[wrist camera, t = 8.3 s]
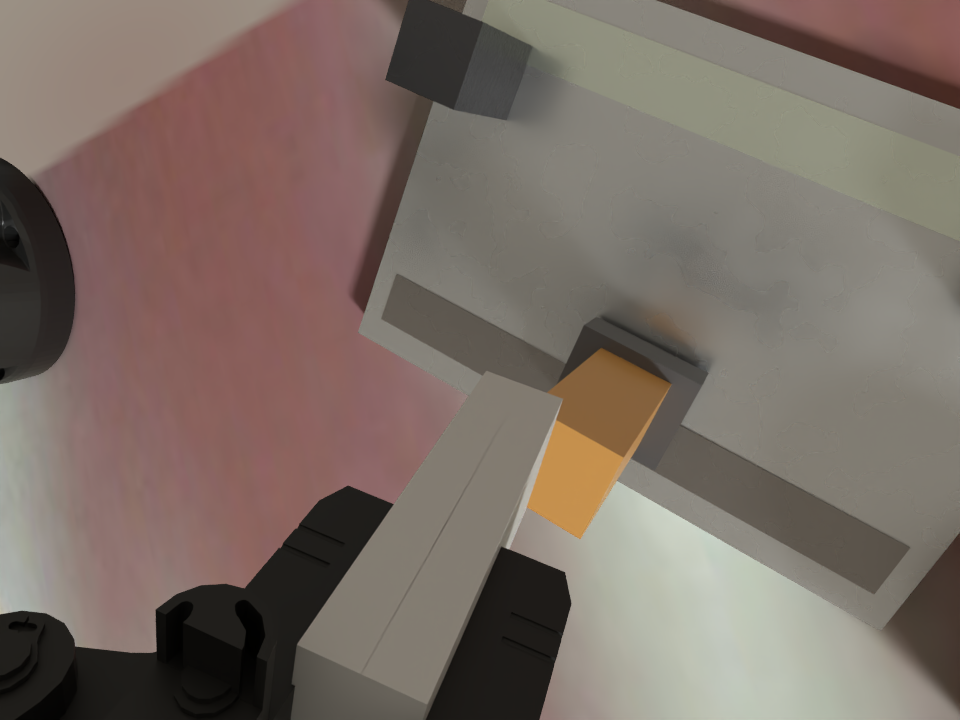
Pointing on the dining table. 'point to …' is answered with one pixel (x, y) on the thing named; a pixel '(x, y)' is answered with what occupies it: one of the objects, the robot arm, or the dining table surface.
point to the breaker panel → (699, 265)
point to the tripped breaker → (609, 420)
